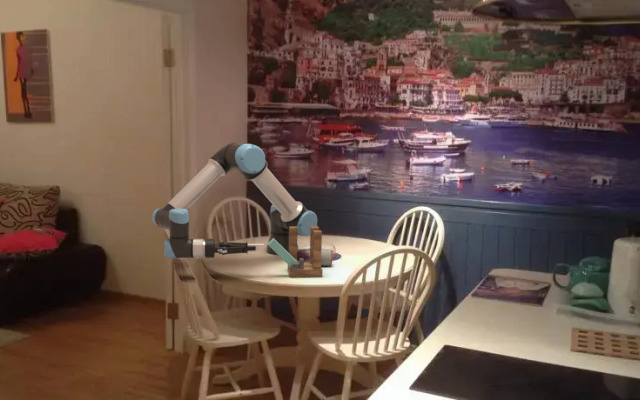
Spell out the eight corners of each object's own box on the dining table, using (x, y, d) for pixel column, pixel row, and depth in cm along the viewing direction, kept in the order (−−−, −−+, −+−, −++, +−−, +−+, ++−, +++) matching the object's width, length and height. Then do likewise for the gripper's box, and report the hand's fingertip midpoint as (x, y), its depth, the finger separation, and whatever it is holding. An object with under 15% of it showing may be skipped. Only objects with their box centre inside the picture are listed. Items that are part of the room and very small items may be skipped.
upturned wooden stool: (287, 269, 263) (288, 226, 261) (317, 268, 265) (318, 226, 262) (290, 277, 250) (291, 232, 247) (322, 277, 252) (323, 232, 249)
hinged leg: (293, 268, 255) (267, 243, 252) (299, 263, 255) (273, 237, 252) (294, 271, 251) (268, 245, 248) (300, 265, 251) (273, 239, 248)
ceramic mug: (332, 267, 267) (333, 250, 266) (313, 267, 267) (314, 250, 265) (330, 262, 278) (331, 245, 276) (312, 261, 277) (312, 245, 276)
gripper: (205, 253, 253) (263, 252, 257) (203, 261, 241) (264, 260, 244) (205, 235, 252) (263, 235, 256) (203, 242, 239) (264, 242, 243)
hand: (263, 247), depth 250 cm, fingers closed
